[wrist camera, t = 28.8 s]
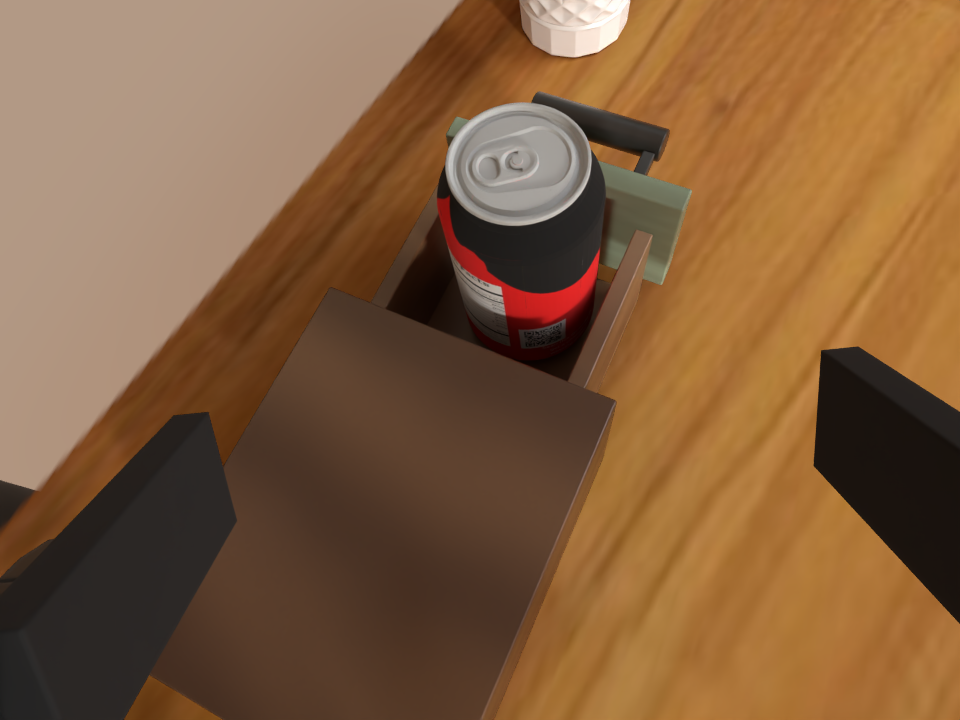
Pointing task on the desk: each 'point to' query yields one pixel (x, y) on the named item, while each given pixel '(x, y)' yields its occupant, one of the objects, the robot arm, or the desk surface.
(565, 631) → the desk surface
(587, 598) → the desk surface
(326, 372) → the cabinet
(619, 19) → the white cup
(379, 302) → the drawer
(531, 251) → the beverage can
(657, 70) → the desk surface
